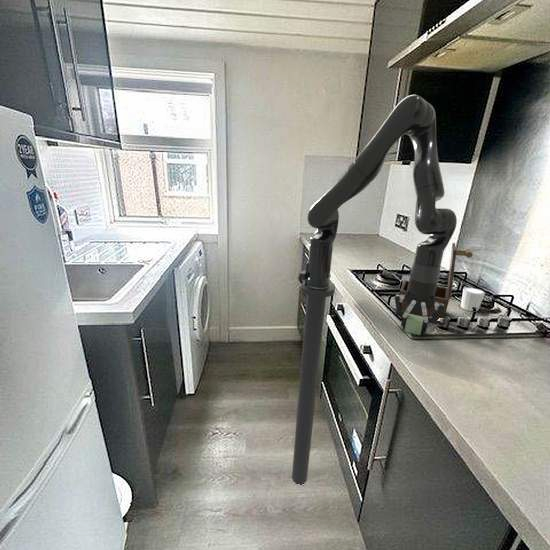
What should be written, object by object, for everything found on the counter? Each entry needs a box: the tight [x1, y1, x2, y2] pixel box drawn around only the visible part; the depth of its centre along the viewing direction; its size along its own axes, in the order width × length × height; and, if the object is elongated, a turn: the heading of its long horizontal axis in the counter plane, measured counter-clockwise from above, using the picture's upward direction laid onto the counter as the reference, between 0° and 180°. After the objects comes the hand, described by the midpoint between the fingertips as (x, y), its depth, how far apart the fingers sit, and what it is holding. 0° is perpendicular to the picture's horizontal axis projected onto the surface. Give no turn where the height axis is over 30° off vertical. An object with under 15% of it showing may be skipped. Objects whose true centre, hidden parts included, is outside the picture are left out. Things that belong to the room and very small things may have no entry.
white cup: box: [460, 287, 486, 312], centre depth 111 cm, size 7×7×7 cm
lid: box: [447, 242, 474, 300], centre depth 97 cm, size 16×13×5 cm
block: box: [404, 314, 423, 336], centre depth 93 cm, size 4×4×4 cm
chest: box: [395, 280, 450, 326], centre depth 105 cm, size 15×13×9 cm
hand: (412, 329), depth 93 cm, fingers closed on block, 4 cm apart
